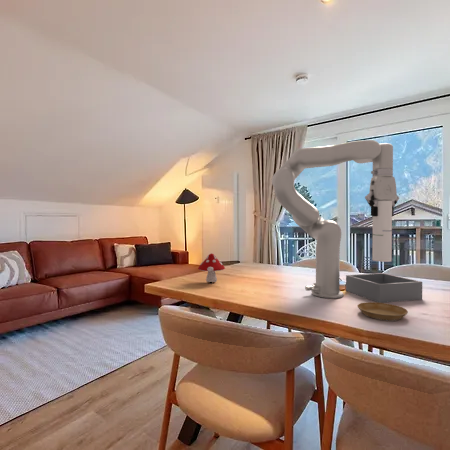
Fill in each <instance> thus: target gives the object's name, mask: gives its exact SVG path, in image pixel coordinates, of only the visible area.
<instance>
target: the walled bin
mask: <svg viewBox="0 0 450 450" xmlns="http://www.w3.org/2000/svg"><path fill="white" fill-rule="evenodd" d="M345 291H346V292H348V293H351V294H354V295H357V296H359V297H362V298H365V299H368V300H371V301H372V302H378V303H395V302H408V301H418V300H420V301H421V300H423V281H421V280H420V281H419V280H415V279H412V278H407V277H403V276H397V275H394V274H389V273H385V272H380V273H378V272H377V273H361V274H346V275H345Z"/></svg>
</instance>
